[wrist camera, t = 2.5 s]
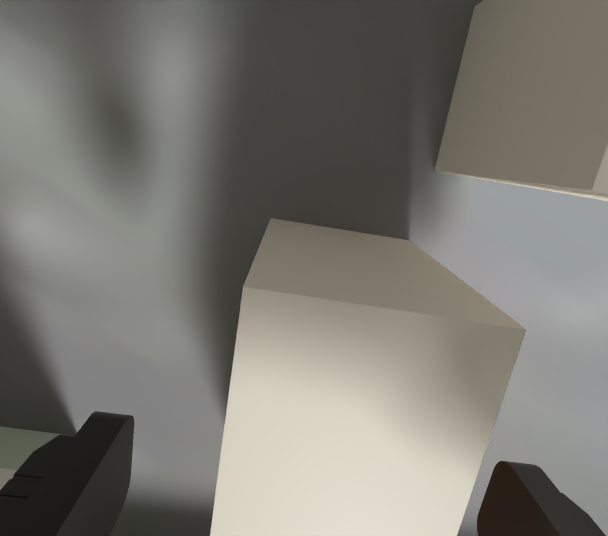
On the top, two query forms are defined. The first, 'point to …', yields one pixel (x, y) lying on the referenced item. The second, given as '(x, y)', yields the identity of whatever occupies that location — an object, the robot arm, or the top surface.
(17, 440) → the sage tea tin
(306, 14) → the top surface
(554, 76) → the faced twin box
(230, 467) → the box
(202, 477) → the top surface
